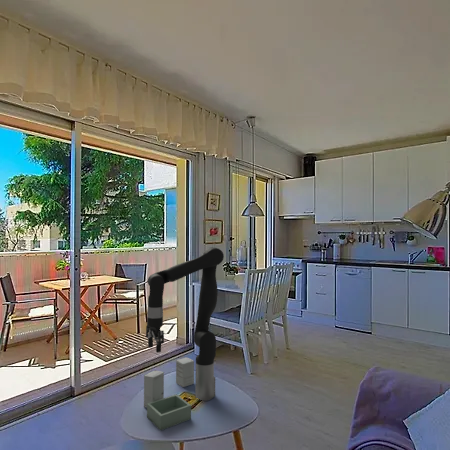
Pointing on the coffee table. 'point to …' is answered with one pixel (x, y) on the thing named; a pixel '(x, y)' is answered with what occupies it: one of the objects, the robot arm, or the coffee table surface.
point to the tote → (168, 412)
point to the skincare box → (153, 387)
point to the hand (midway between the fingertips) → (154, 349)
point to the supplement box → (184, 372)
